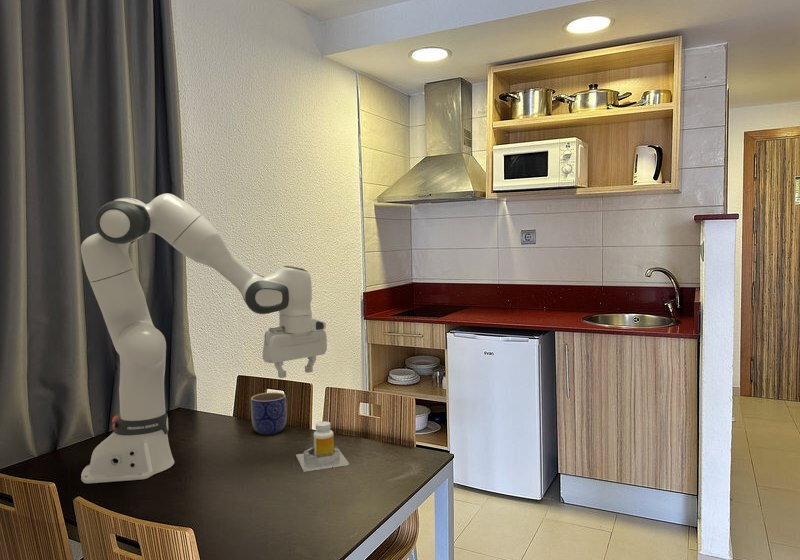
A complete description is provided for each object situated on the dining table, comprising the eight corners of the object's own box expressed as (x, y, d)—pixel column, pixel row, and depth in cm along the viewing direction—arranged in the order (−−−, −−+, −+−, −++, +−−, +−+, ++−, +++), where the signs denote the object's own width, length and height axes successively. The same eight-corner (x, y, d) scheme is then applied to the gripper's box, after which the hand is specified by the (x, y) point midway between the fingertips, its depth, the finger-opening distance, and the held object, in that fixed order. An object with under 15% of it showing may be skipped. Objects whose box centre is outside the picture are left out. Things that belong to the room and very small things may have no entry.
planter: (294, 429, 192) (293, 394, 192) (270, 439, 183) (268, 402, 182) (269, 424, 198) (268, 390, 197) (244, 433, 189) (243, 398, 188)
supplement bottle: (338, 459, 163) (336, 423, 162) (320, 463, 160) (319, 427, 159) (328, 453, 167) (326, 419, 167) (310, 458, 164) (309, 423, 163)
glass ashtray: (303, 471, 156) (303, 462, 156) (296, 456, 167) (295, 447, 167) (348, 465, 160) (348, 455, 160) (338, 450, 171) (338, 441, 171)
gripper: (272, 329, 156) (272, 382, 157) (330, 322, 172) (330, 370, 172) (257, 327, 160) (257, 379, 161) (315, 321, 176) (315, 368, 177)
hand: (295, 374), depth 167 cm, fingers open, 8 cm apart
